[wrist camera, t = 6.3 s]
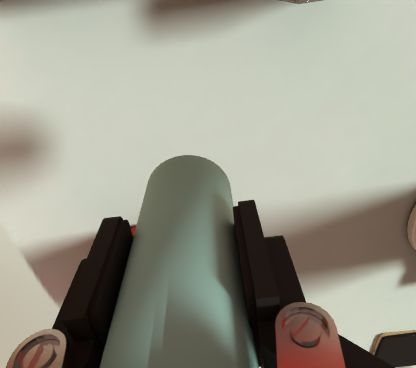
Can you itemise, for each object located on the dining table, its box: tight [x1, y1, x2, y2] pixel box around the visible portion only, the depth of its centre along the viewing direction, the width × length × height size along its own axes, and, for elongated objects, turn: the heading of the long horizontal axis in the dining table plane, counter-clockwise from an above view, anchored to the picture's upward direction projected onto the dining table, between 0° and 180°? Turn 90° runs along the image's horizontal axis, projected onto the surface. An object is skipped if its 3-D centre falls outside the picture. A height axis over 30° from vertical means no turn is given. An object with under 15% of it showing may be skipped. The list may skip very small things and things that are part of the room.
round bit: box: [100, 155, 259, 368], centre depth 10 cm, size 4×4×10 cm
